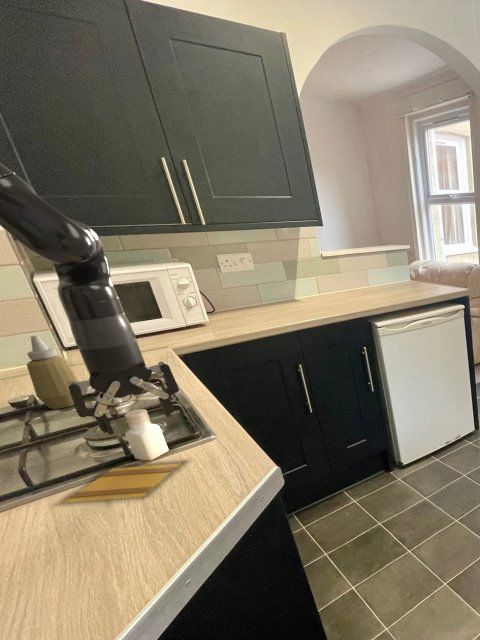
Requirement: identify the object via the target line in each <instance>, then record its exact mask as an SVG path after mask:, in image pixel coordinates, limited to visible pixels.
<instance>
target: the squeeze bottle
mask: <svg viewBox="0 0 480 640" xmlns="http://www.w3.org/2000/svg"><path fill="white" fill-rule="evenodd" d="M30 341H31V348H32V350H31V351H28V352H27V356H28V358H29V360H30V361H29V362H27V363H26V367H27V370H28V373H29V376H30V380H31V382H32V386H33V389H34V392H35V395H36V397H37V398H38V399H39V400H40V401H41V402H42V403H43V404H45V405H46V407H48V408H49V409H51V410H58V409H64V408H69V407H72V406H74V403H73V400H72V397H71V395H70V392H69V389H68V386H67V384H68V383H69V382H71V381H74V382H80V381H79V379H78V377H77V376H76V374H75V372H74V371H73V369H72V367H71V366H70V364H69V363H68V361H67V360H66V358H65V357H64V356H60V355H58V353H57V350H56V349H55V348H54V347H49V348H48V346H47V344H45V343H44V341H43V340H42V339H41V338H40V337H39V335H31V336H30Z"/></svg>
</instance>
